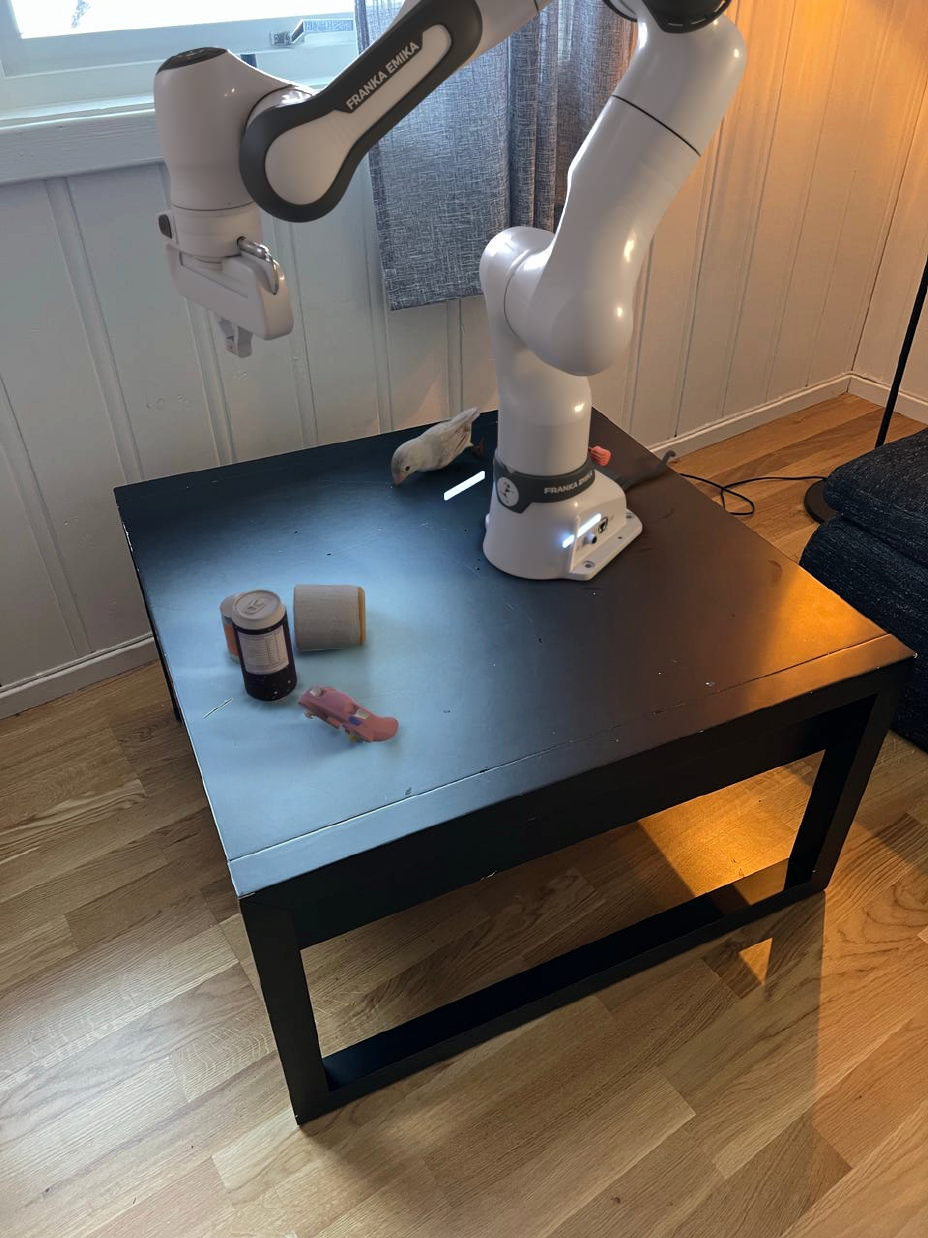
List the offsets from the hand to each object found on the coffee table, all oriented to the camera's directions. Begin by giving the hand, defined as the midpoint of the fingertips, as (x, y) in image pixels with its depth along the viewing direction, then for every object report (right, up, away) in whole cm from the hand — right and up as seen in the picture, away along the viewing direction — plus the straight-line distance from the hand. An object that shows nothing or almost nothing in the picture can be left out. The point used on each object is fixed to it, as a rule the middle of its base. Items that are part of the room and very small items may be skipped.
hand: (239, 353), depth 107 cm
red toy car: (+14, -42, -9) cm, 45 cm away
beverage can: (+5, -39, -4) cm, 39 cm away
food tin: (+1, -34, +1) cm, 34 cm away
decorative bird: (+22, -8, +33) cm, 41 cm away
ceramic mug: (+10, -33, +3) cm, 34 cm away
